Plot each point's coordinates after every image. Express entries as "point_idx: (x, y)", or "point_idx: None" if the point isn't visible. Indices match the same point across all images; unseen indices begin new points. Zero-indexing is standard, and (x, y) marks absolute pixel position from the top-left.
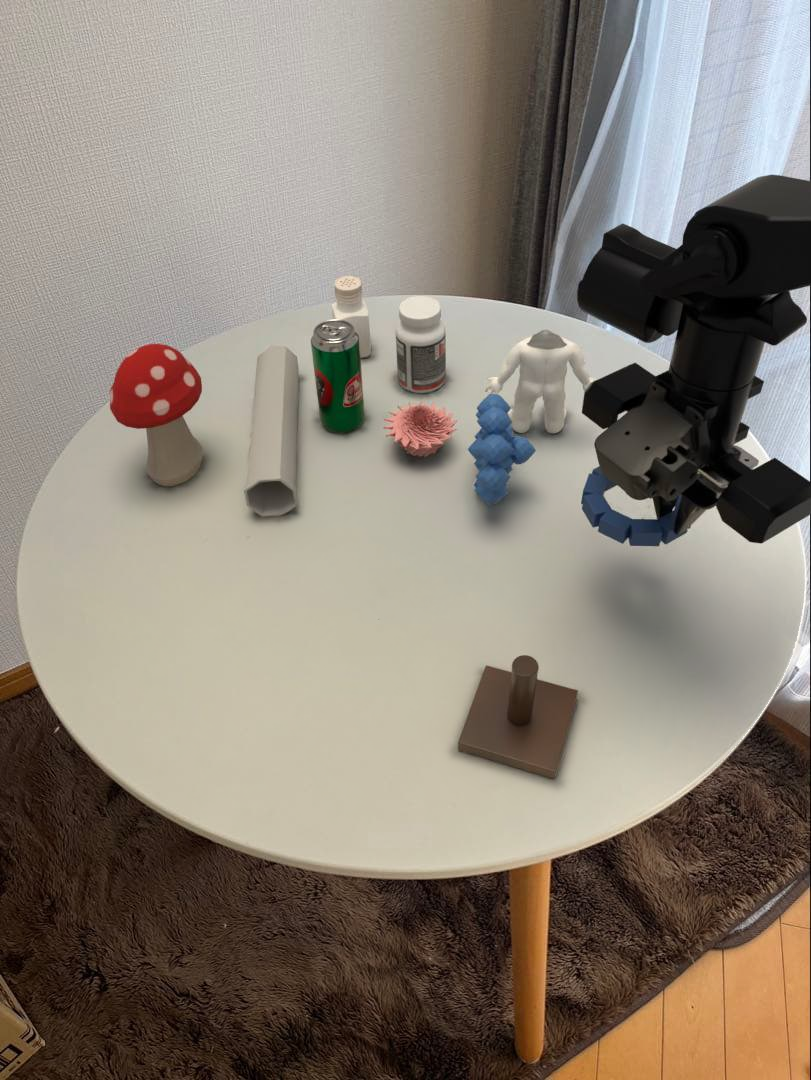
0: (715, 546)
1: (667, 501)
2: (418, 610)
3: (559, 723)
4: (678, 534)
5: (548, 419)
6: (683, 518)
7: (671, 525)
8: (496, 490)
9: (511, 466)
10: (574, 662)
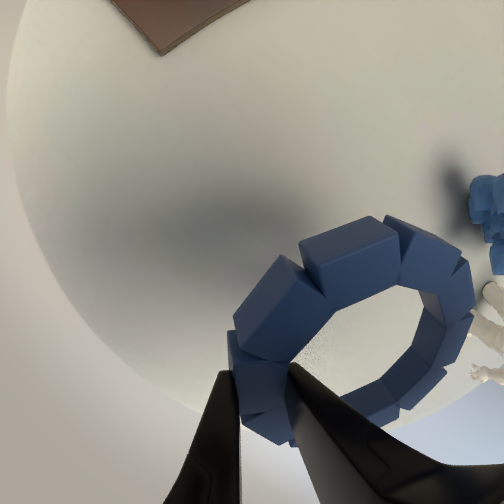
0: None
1: (302, 420)
2: (399, 6)
3: (133, 3)
4: (218, 373)
5: (479, 317)
6: (205, 433)
7: (247, 379)
8: (493, 185)
9: (490, 238)
10: (213, 91)
